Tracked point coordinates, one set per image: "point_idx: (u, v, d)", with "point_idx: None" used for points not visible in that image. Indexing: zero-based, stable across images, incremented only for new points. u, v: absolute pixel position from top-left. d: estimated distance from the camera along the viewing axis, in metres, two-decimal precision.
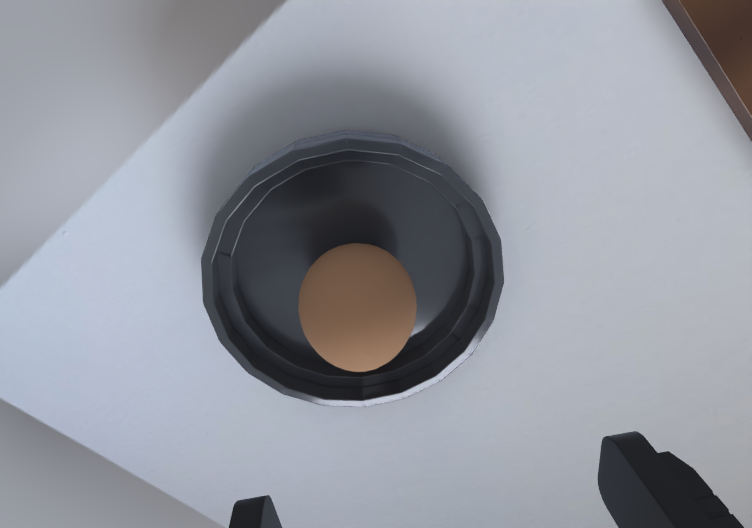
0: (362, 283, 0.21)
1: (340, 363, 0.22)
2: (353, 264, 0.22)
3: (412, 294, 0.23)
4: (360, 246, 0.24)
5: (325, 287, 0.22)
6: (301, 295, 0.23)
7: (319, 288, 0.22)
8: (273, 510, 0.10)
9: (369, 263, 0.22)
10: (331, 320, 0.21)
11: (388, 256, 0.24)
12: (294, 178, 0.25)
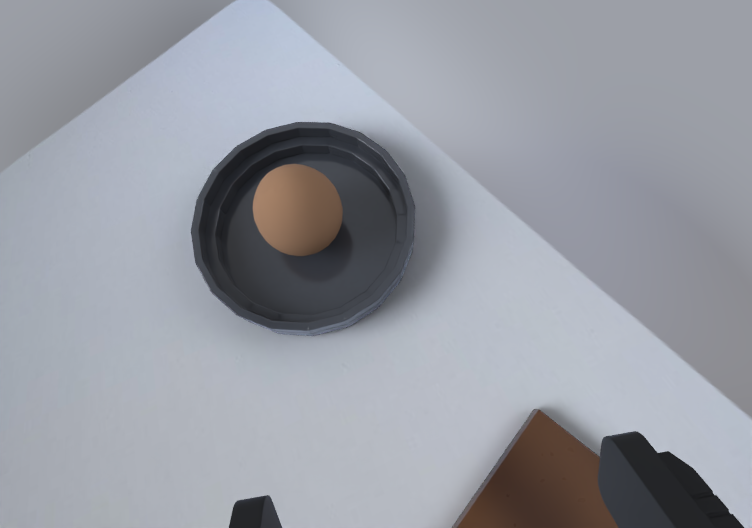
0: (328, 196, 0.31)
1: (271, 175, 0.30)
2: (337, 198, 0.32)
3: (312, 239, 0.31)
4: (342, 214, 0.34)
5: (323, 176, 0.32)
6: None
7: (321, 174, 0.32)
8: (273, 510, 0.10)
9: (337, 209, 0.32)
10: (305, 170, 0.30)
11: (336, 231, 0.33)
12: (379, 189, 0.38)
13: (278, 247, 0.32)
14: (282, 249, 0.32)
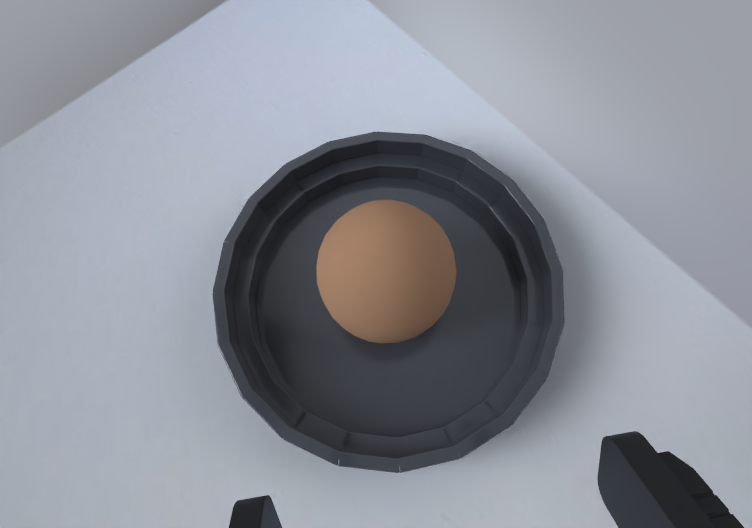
0: (446, 256, 0.18)
1: (357, 219, 0.18)
2: None
3: (415, 326, 0.19)
4: None
5: (434, 221, 0.20)
6: None
7: (430, 217, 0.20)
8: (273, 510, 0.10)
9: (454, 275, 0.20)
10: (414, 213, 0.18)
11: None
12: (491, 234, 0.26)
13: (355, 332, 0.20)
14: (361, 336, 0.20)
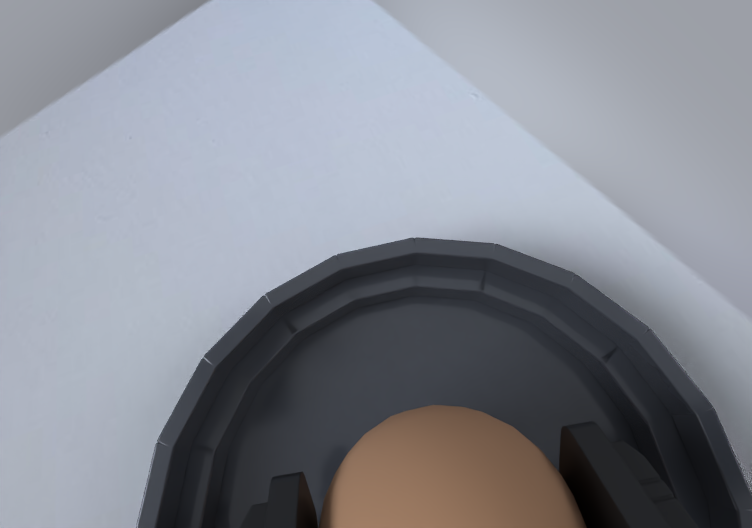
0: None
1: None
2: None
3: None
4: None
5: (554, 477, 0.10)
6: (487, 414, 0.11)
7: (542, 461, 0.10)
8: (306, 486, 0.11)
9: None
10: (529, 503, 0.08)
11: None
12: (600, 400, 0.16)
13: None
14: None
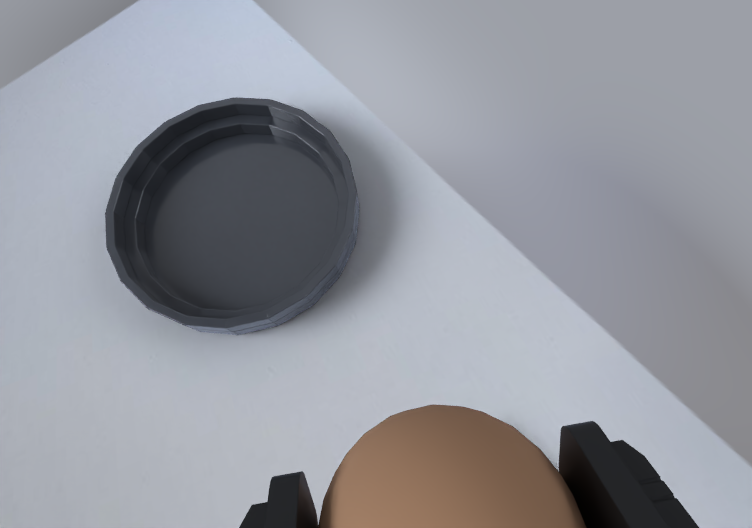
0: None
1: None
2: None
3: None
4: None
5: (553, 477, 0.10)
6: (486, 414, 0.11)
7: (542, 461, 0.10)
8: (306, 486, 0.11)
9: None
10: (528, 503, 0.08)
11: None
12: (324, 174, 0.34)
13: None
14: None
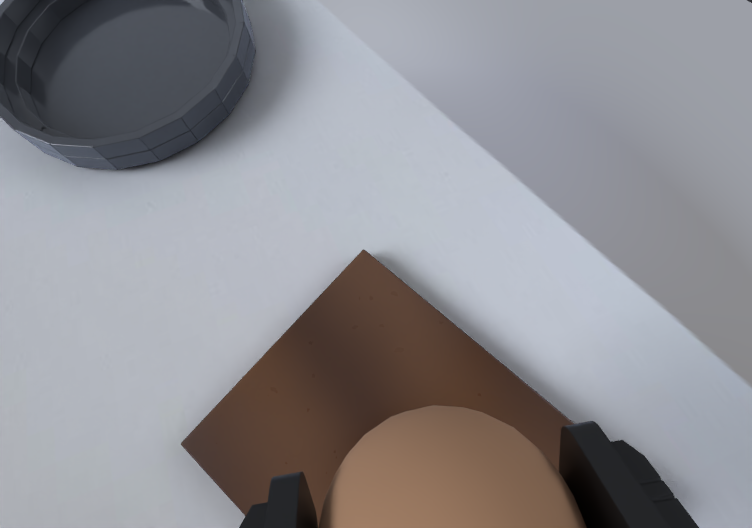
0: None
1: None
2: None
3: None
4: None
5: (554, 478, 0.10)
6: (487, 415, 0.11)
7: (542, 462, 0.10)
8: (306, 486, 0.11)
9: None
10: (529, 504, 0.08)
11: None
12: (222, 21, 0.33)
13: None
14: None
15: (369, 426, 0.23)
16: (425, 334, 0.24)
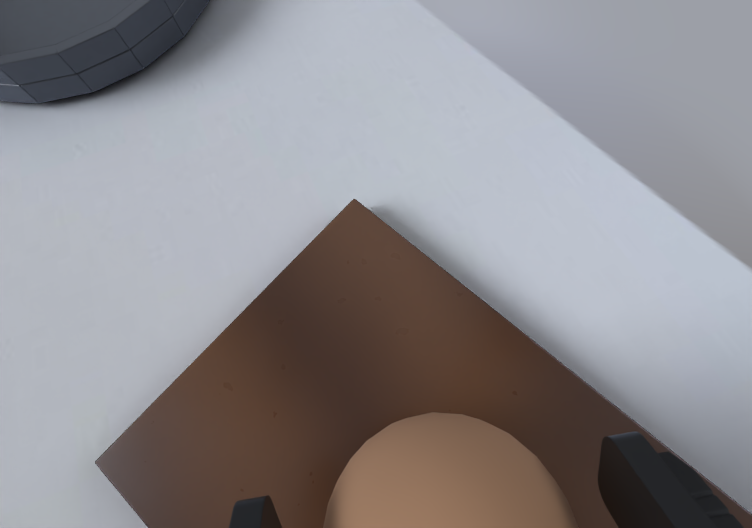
0: None
1: None
2: None
3: None
4: None
5: (548, 483, 0.10)
6: (484, 422, 0.12)
7: (537, 468, 0.10)
8: (273, 510, 0.10)
9: None
10: (524, 509, 0.09)
11: None
12: None
13: None
14: None
15: (360, 437, 0.16)
16: (438, 310, 0.18)
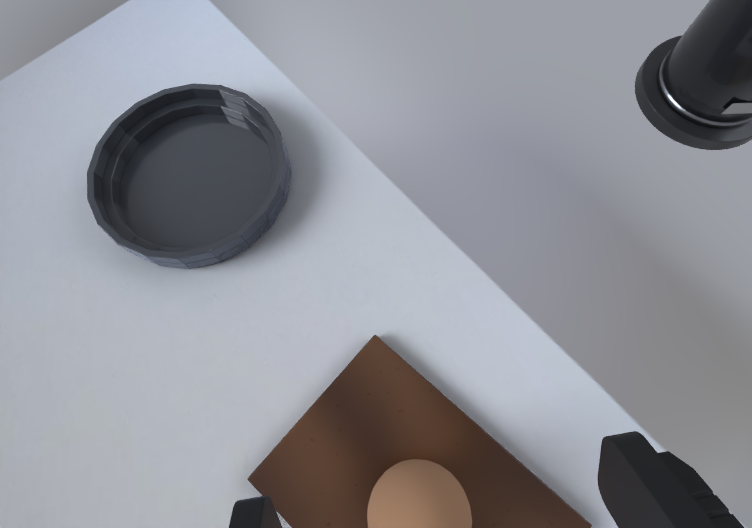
0: (466, 527, 0.25)
1: (402, 509, 0.25)
2: (470, 515, 0.27)
3: None
4: None
5: (456, 491, 0.26)
6: (435, 465, 0.28)
7: (453, 485, 0.27)
8: (273, 510, 0.10)
9: None
10: (442, 500, 0.25)
11: None
12: (264, 146, 0.42)
13: None
14: None
15: (380, 467, 0.32)
16: (419, 399, 0.34)
